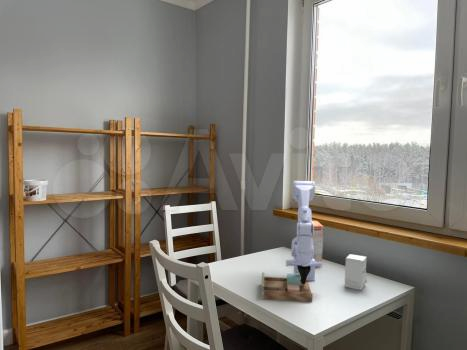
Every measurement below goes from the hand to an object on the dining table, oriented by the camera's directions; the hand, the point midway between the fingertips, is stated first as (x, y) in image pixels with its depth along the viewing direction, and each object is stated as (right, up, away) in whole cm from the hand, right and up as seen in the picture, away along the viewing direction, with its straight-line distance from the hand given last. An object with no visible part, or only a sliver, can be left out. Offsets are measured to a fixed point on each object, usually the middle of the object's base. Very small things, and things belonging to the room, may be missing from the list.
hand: (303, 283), depth 145 cm
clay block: (-5, -3, -6) cm, 9 cm away
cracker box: (+12, -1, +36) cm, 38 cm away
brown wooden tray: (-8, -3, -2) cm, 8 cm away
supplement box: (+23, -3, +6) cm, 24 cm away
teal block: (-4, -1, 0) cm, 4 cm away
